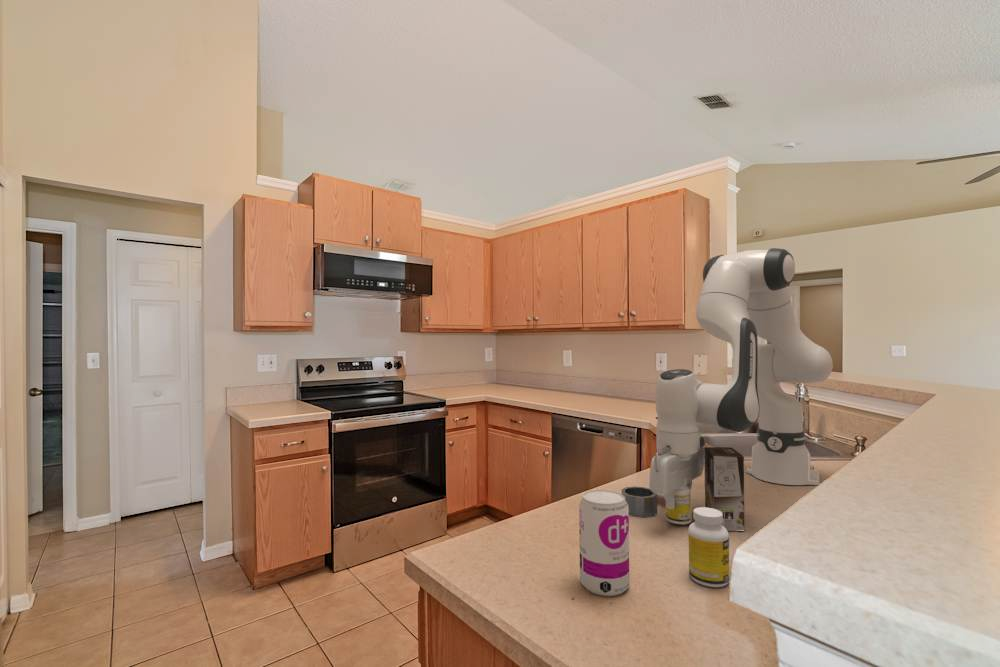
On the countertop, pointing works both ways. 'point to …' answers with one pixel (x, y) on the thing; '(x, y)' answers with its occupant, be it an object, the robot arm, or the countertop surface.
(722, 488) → the coffee box
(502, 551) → the countertop surface
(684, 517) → the supplement bottle
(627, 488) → the collar
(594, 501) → the supplement can
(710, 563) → the pill bottle
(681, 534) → the countertop surface
